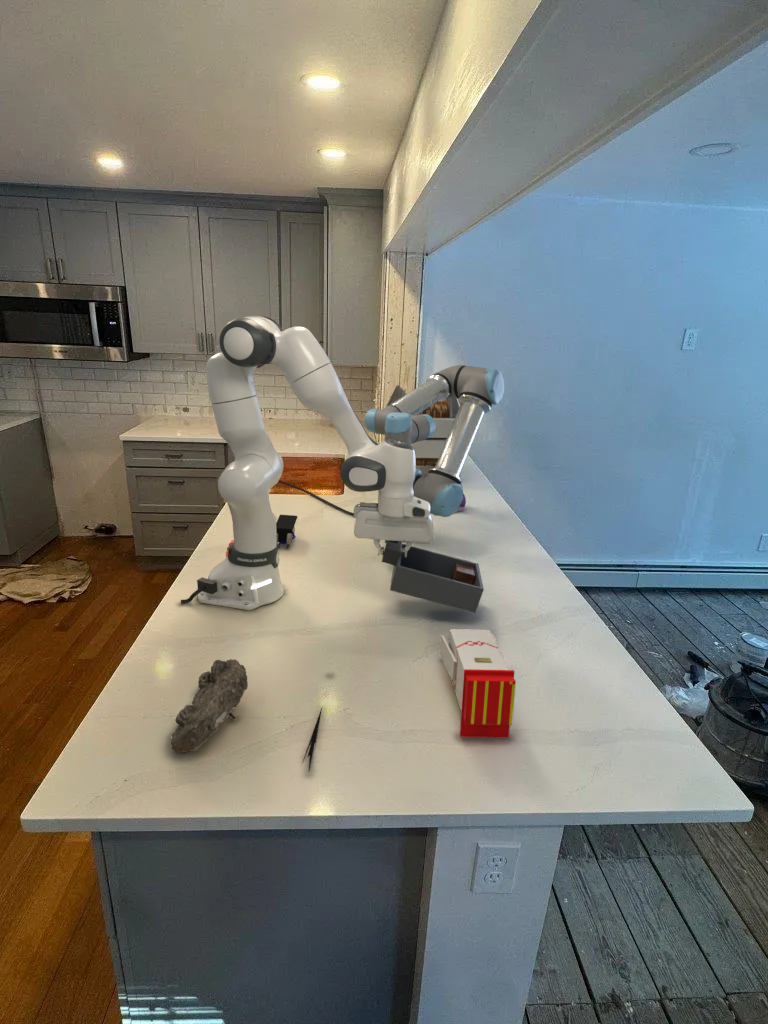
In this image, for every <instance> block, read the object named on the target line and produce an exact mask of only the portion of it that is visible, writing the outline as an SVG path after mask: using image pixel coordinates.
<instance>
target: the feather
mask: <svg viewBox="0 0 768 1024" xmlns="http://www.w3.org/2000/svg"><path fill="white" fill-rule="evenodd" d="M329 675H330V676H331V675H332V674H331V673H330V674H329ZM322 710H323V707H321V708H320V710H319V713H318V716H317V719H316V723H315V725H314V728H313V731H312V733H311V737H310V739H309V742H308V745H307V748H306V751H305V754H304V757H303V760H302V763H301V767H302V765H303V763H304V761H305V758H308V759H309V760H308V762H307V763H308V764H307V766H308V771H310V770H311V766H312V765H311V764H312V760H313V757H315V756H314V755H315V751H316V749H315V746H317V739H318V733H319V729H320V722H321V717H322V712H323V711H322ZM313 754H314V755H313ZM306 755H307V757H306Z"/></svg>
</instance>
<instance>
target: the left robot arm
mask: <svg viewBox="0 0 768 1024" xmlns="http://www.w3.org/2000/svg"><path fill="white" fill-rule="evenodd" d="M218 343H219V348H220V351H221V352H217V353H215V354H214V355H212V356H211V357H210V358H208V360H207V362H206V365H205V371H206V372H205V373H206V383H207V390H208V395H209V400H210V403H211V407H212V412H213V417H214V420H215V424H216V427H217V432H218V434H219V436H220V437H221V439H223V440H224V441H225V442H226V443H227V445H228V447H229V448H230V451H231V452H232V454H233V458H234V461H232V462H230V463H229V464H228V465H226V467H225V468H224V470H223V471H222V473H221V474H220V476H219V478H218V481H217V487H218V488H217V490H218V493H219V494H220V497H221V498H222V499H223V500H224V501H225V502H226V503H227V506H228V509H229V512H230V516H231V521H232V531H233V533H232V535H233V539H231V541H230V542H229V543H228V547H227V548H226V551H225V557H226V558H225V559H222V560H221V561H220V562H219V563H217V564H216V565H215V566H214V567H212V568H211V569H210V571H209V573H208V575H207V577H203V576H202V577H200V578H198V579H197V580H196V584H197V585H196V586H197V589H196V590H195V591H193V593H191V595H190V596H189V597H188V598H186V599H180V604H189V603H190V602H192V601H193V600H194V598H195V597H197V600H198V602H199V603H201V604H206V605H212V606H219V607H226V608H231V609H239V610H245V611H252V610H255V609H257V608H259V607H261V606H265V605H268V604H271V603H274V602H276V601H278V600H279V599H281V598H282V597H283V595H284V593H285V589H284V587H283V584H282V580H281V576H280V569H279V564H280V550H279V549H280V548H278V543H279V542H278V543H277V532H276V523H277V517H276V515H275V513H274V512H273V509H272V507H271V502H270V491H271V489H273V487H275V486H276V485H277V484H278V483H279V482H278V481H279V480H280V479H281V478H282V475H283V473H284V469H285V468H284V467H285V465H284V464H285V463H284V460H283V457H282V456H281V454H280V453H279V452H277V450H276V449H275V447H274V444H273V442H272V440H271V438H270V435H269V434H268V431H267V429H266V426H265V423H264V418H263V414H262V411H261V407H260V403H259V399H258V395H257V394H258V393H257V390H256V386H255V381H254V373H255V370H256V369H259V368H262V367H263V366H265V365H269V364H273V365H275V366H277V367H278V368H279V370H281V372H282V374H283V375H284V377H285V379H286V381H287V383H288V385H289V387H290V389H291V390H292V392H293V394H294V395H295V397H296V399H298V401H299V402H300V403H301V405H302V406H303V407H304V408H305V409H307V410H308V411H310V412H314V413H317V414H320V415H321V416H323V417H325V418H327V419H328V420H329V422H330V423H331V424H332V425H333V427H334V428H335V430H336V432H337V433H338V435H339V436H340V438H341V440H342V441H343V443H344V445H345V447H346V449H347V454H348V456H347V457H346V458H345V460H344V461H343V462H342V464H341V467H340V470H339V473H340V478H341V481H342V484H344V486H346V487H347V489H349V490H351V491H352V492H356V493H357V492H358V493H366V492H375V491H378V494H377V502H365V501H364V502H363V501H360V502H359V503H357V504H355V506H354V507H353V513H354V516H353V517H354V519H355V521H354V528H353V536H354V537H355V538H356V539H362V540H373V544H374V546H375V547H376V549H377V556H383V554H384V549H385V546H382V545H381V543H380V542H381V541H385V540H389V541H402V543H403V542H404V543H405V544H406V545H407V546H406V547H405V548H402V550H401V557H407V551H408V550H409V549H410V547H411V546H413V543H418V544H420V543H421V544H431V543H432V542H433V541H434V534H435V533H434V519H433V514H430V511H431V507H430V504H429V502H427V501H424V500H422V499H419V498H417V497H414V490H413V482H414V480H415V471H416V468H417V466H416V458H415V451H414V449H413V447H412V446H411V445H410V444H409V443H407V442H405V441H402V440H398V439H386V440H383V441H382V442H380V443H377V441H375V440H374V439H373V438H372V437H371V436H370V435H369V434H368V433H367V430H366V428H364V425H363V423H362V422H361V420H360V419H359V417H358V415H357V413H356V412H355V410H354V409H353V406H352V405H351V404H350V402H349V399H348V397H347V395H346V392H345V390H344V389H343V386H342V383H341V381H340V379H339V376H338V374H337V373H336V370H335V368H334V366H333V364H332V362H331V360H330V358H329V357H328V355H327V353H326V352H325V350H324V348H323V347H322V345H321V343H319V341H318V339H316V337H315V336H314V334H313V333H312V332H311V331H310V330H309V329H308V328H306V327H304V326H297V325H296V326H292V327H291V326H290V327H289V328H286V329H284V330H283V328H282V327H281V325H280V324H279V323H278V322H277V321H276V320H274V319H272V318H270V317H268V316H263V315H262V316H261V315H247V316H244V317H237V318H234V319H232V320H230V321H229V322H227V323H226V324H225V325H224V327H223V328H222V329H221V332H220V335H219V341H218ZM280 481H281V480H280Z"/></svg>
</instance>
